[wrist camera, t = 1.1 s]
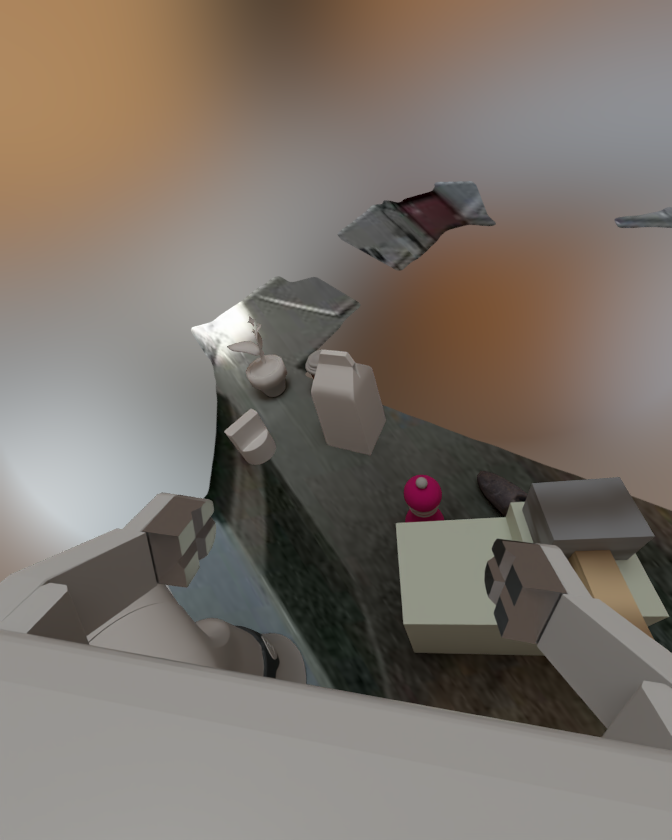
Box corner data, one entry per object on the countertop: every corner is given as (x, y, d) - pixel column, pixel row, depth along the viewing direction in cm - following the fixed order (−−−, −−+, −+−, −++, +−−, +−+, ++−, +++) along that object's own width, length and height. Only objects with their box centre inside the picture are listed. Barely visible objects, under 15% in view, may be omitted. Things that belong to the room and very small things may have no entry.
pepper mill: (415, 510, 69) (408, 454, 55) (450, 524, 66) (452, 468, 51) (401, 541, 66) (390, 490, 51) (437, 557, 62) (436, 508, 48)
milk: (327, 444, 86) (295, 368, 68) (344, 412, 93) (320, 333, 74) (370, 455, 81) (348, 375, 62) (386, 420, 87) (371, 337, 68)
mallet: (738, 776, 24) (804, 788, 19) (610, 765, 25) (645, 775, 21) (599, 505, 38) (619, 477, 33) (522, 509, 39) (532, 483, 35)
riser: (581, 656, 49) (669, 616, 30) (414, 652, 54) (400, 616, 35) (550, 570, 57) (604, 496, 38) (407, 574, 62) (392, 509, 43)
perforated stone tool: (467, 487, 70) (469, 469, 65) (487, 474, 71) (490, 455, 66) (528, 546, 60) (536, 531, 55) (550, 530, 61) (560, 513, 56)
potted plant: (294, 374, 109) (264, 305, 91) (292, 399, 101) (260, 329, 83) (257, 382, 111) (221, 316, 93) (253, 407, 103) (213, 340, 85)
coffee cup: (313, 401, 99) (301, 370, 90) (317, 380, 104) (306, 349, 96) (343, 398, 96) (334, 366, 88) (345, 376, 102) (337, 345, 94)
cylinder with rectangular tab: (257, 470, 86) (237, 442, 77) (238, 454, 91) (216, 427, 83) (282, 446, 90) (265, 417, 81) (262, 432, 95) (244, 403, 86)
